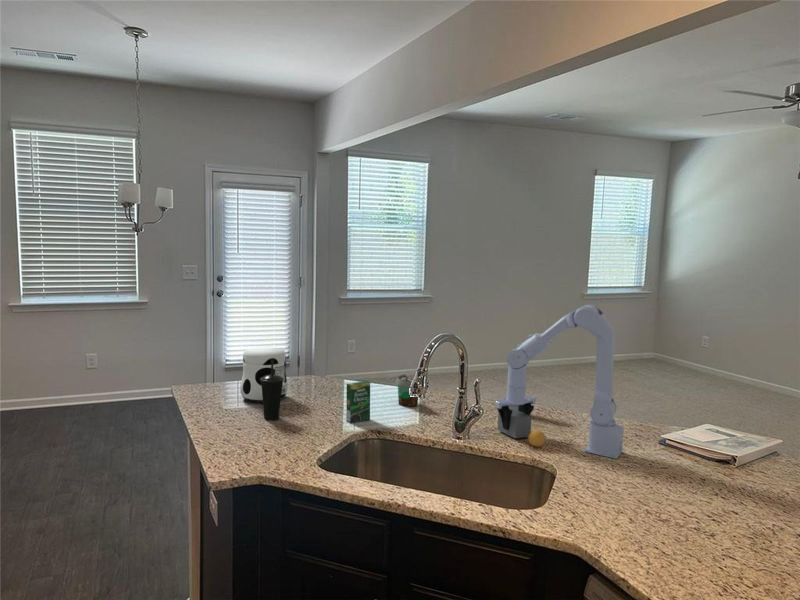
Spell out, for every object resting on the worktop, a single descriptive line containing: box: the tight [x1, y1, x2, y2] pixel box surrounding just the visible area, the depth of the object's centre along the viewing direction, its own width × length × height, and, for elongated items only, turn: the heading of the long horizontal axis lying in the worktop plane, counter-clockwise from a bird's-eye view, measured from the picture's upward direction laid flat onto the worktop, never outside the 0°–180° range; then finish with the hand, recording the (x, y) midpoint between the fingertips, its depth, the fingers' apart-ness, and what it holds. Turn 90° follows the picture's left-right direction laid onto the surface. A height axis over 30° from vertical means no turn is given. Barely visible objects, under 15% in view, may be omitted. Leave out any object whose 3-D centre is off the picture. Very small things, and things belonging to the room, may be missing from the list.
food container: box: [395, 374, 419, 409], centre depth 213 cm, size 12×6×10 cm, turn 25°
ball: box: [528, 429, 546, 448], centre depth 174 cm, size 5×5×5 cm
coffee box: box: [345, 380, 371, 424], centre depth 192 cm, size 8×3×13 cm, turn 125°
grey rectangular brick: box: [497, 409, 532, 439], centre depth 183 cm, size 9×6×6 cm, turn 27°
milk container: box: [239, 347, 289, 403], centre depth 214 cm, size 17×17×18 cm
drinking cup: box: [260, 359, 284, 421], centre depth 191 cm, size 8×8×20 cm
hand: (514, 427), depth 183 cm, fingers closed on grey rectangular brick, 6 cm apart
